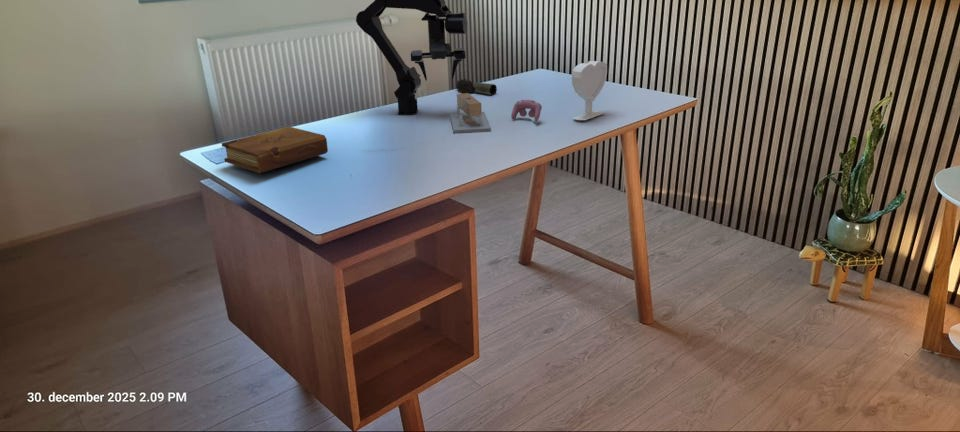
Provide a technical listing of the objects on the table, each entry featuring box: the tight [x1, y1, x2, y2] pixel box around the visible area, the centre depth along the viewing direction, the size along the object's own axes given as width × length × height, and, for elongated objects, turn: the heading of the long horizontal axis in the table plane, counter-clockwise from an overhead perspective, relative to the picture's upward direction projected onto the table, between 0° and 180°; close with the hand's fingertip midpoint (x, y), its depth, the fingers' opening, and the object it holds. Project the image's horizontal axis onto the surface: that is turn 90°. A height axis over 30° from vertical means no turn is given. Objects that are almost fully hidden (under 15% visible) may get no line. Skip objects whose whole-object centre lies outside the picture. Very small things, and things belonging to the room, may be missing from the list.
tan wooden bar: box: [456, 93, 483, 117], centre depth 222 cm, size 4×16×4 cm, turn 16°
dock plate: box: [449, 111, 492, 134], centre depth 225 cm, size 12×22×1 cm, turn 5°
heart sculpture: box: [571, 60, 608, 121], centre depth 226 cm, size 16×5×18 cm, turn 137°
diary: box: [221, 125, 329, 174], centre depth 197 cm, size 23×19×6 cm
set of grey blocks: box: [456, 106, 483, 126], centre depth 224 cm, size 8×13×4 cm, turn 5°
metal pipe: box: [456, 78, 498, 96], centre depth 263 cm, size 18×7×6 cm, turn 53°
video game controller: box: [510, 99, 543, 122], centre depth 226 cm, size 10×5×7 cm, turn 65°
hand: (439, 79), depth 234 cm, fingers open, 9 cm apart
